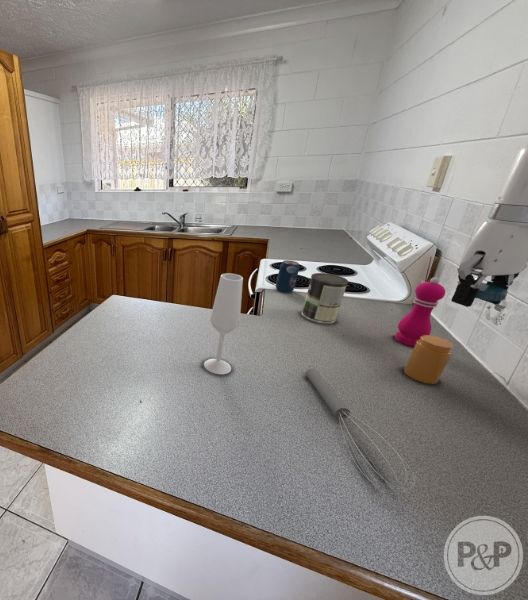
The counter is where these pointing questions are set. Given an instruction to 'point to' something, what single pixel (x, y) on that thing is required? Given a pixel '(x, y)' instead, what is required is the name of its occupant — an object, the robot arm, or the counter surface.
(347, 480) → the counter surface
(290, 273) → the soda can
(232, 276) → the champagne flute
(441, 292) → the pepper mill
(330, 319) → the coffee can
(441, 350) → the jar
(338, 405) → the kitchen whisk
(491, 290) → the lid
